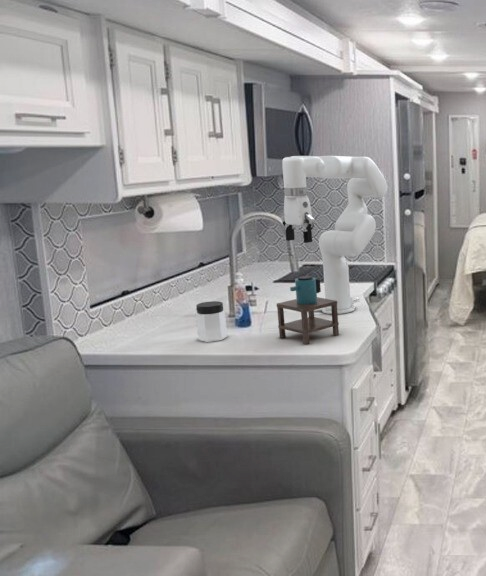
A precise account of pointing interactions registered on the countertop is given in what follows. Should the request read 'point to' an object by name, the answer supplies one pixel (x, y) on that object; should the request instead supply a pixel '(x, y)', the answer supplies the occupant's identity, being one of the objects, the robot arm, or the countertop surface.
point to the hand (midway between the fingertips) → (299, 241)
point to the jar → (211, 321)
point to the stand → (307, 318)
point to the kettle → (306, 289)
